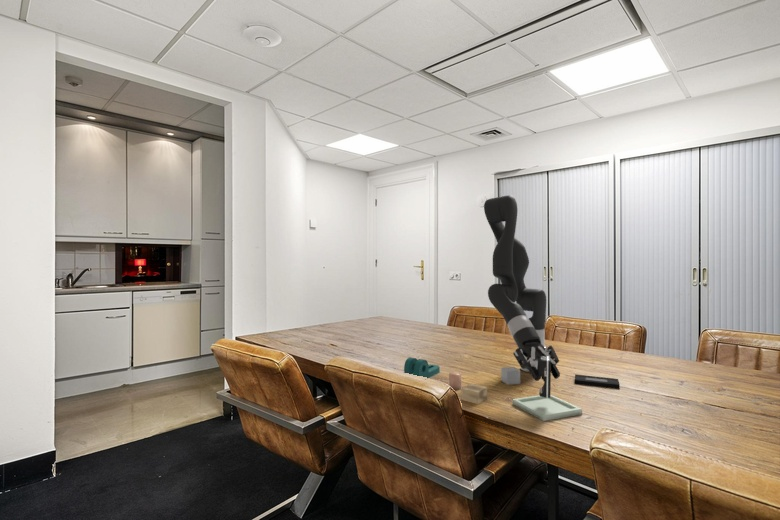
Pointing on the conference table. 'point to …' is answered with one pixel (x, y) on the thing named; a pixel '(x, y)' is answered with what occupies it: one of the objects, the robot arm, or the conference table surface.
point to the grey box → (510, 375)
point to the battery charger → (545, 375)
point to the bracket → (420, 367)
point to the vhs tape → (597, 381)
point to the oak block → (474, 393)
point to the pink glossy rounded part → (455, 380)
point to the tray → (547, 407)
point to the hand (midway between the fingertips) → (548, 378)
